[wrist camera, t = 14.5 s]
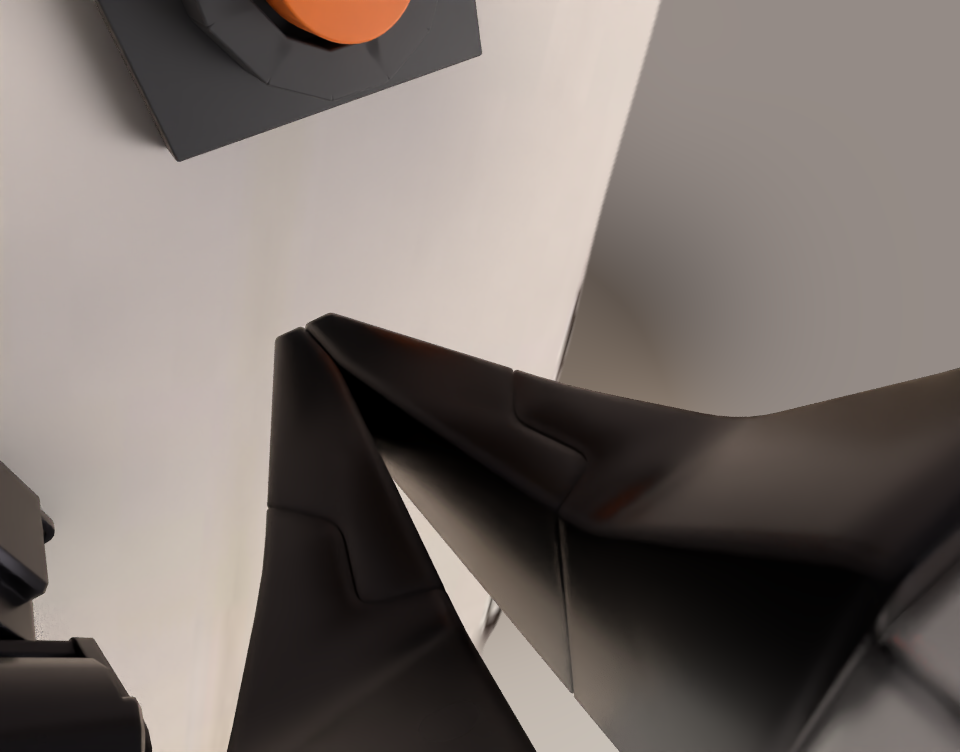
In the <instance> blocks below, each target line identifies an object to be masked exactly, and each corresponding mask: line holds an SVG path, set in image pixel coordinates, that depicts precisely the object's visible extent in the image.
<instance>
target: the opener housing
mask: <svg viewBox="0 0 960 752" xmlns="http://www.w3.org/2000/svg"><path fill="white" fill-rule="evenodd" d="M94 1H95V3H96V5H97V7H98V9H99V11H100V13H101V15H102V17H103V19H104V21H105V23H106V25H107V27H108V29H109V31H110V33H111V36H112V38H113V40H114V42H115V44H116V46H117V48H118V50H119V52H120V54H121V56H122V58H123V60H124V62H125V64H126V66H127V68H128V70H129V72H130V74H131V76H132V78H133V80H134V82H135V84H136V86H137V88H138V90H139V92H140V94H141V96H142V98H143V100H144V102H145V104H146V106H147V108H148V110H149V112H150V114H151V116H152V118H153V120H154V122H155V124H156V126H157V128H158V130H159V132H160V134H161V136H162V138H163V140H164V142H165V144H166V146H167V149H168V150H169V151H170V153H171V154H172V156H173V157H174V158H175V160H176V161H177V162H181V161H183V160H186V159H189V158H192V157H195V156H197V155H200V154H203V153H206V152H209V151H212V150H214V149H217V148H220V147H223V146H226V145H229V144H231V143H234V142H237V141H240V140H243V139H245V138H248V137H251V136H254V135H257V134H260V133H262V132H265V131H268V130H271V129H274V128H277V127H279V126H282V125H285V124H288V123H291V122H294V121H296V120H299V119H302V118H305V117H308V116H310V115H313V114H316V113H319V112H322V111H325V110H327V109H330V108H333V107H336V106H339V105H342V104H344V103H347V102H350V101H353V100H356V99H358V98H361V97H364V96H367V95H370V94H373V93H375V92H378V91H381V90H384V89H387V88H390V87H392V86H395V85H398V84H401V83H404V82H406V81H409V80H412V79H415V78H418V77H421V76H423V75H426V74H429V73H432V72H435V71H438V70H440V69H443V68H446V67H449V66H452V65H455V64H457V63H460V62H463V61H466V60H469V59H471V58H474V57H477V56H480V55H481V54H482V50H481V42H480V34H479V26H478V18H477V10H476V2H475V0H410V2H409V4H408V6H407V8H406V10H405V11H404V13H403V14H402V16H401V17H400V18H399V20H398V21H397V22H396V23H395V24H394V25H393V26H392V27H391V28H390V29H389V30H388V31H386V32H385V33H384V34H382V35H381V36H379V37H377V38H375V39H373V40H370V41H368V42H364V43H360V44H340V43H336V42H331V41H329V40H326V39H324V38H321V37H319V36H317V35H314V34H312V33H310V32H308V31H305V30H303V29H301V28H298V27H296V26H295V25H293V24H291V23H289V22H288V21H287V20H285V19H284V18H283V17H281V16H280V15H279V14H278V13H277V12H276V11H275V10H274V9H273V8H272V7H271V6H270V5H269V4H268V2H267V1H266V0H94Z"/></svg>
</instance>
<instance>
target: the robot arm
mask: <svg viewBox="0 0 960 752" xmlns="http://www.w3.org/2000/svg"><path fill="white" fill-rule="evenodd" d="M392 478H393V479H392ZM393 480H394V481H395V482H396V483H397V484H398V486H399V487H400V488H401V489H402V490H403V492H404V493H405V494H406V495H407V496H408V498H409V499H410V500H411V501H412V502H413V504H414V505H415V506H416V507H417V508H418V510H419V511H420V512H421V513H422V514H423V516H424V517H425V518H426V519H427V520H428V522H429V523H430V524H431V525H432V526H433V528H434V529H435V530H436V531H437V532H438V534H439V535H440V536H441V537H442V538H443V540H444V541H445V542H446V543H447V544H448V546H449V547H450V548H451V549H452V550H453V552H454V553H455V554H456V555H457V556H458V558H459V559H460V560H461V561H462V563H463V564H464V565H465V566H466V567H467V569H468V570H469V571H470V572H471V573H472V575H473V576H474V577H475V578H476V579H477V581H478V582H479V583H480V584H481V585H482V587H483V588H484V589H485V590H486V591H487V593H488V594H489V595H490V596H491V597H492V599H493V600H494V601H495V602H496V603H497V605H498V606H499V607H500V608H501V609H502V611H503V612H504V613H505V614H506V615H507V616H508V618H509V619H510V620H511V621H512V623H513V624H514V625H515V626H516V627H517V629H518V630H519V631H520V632H521V633H522V635H523V636H524V637H525V638H526V639H527V641H528V642H529V643H530V644H531V645H532V647H533V648H534V649H535V650H536V651H537V653H538V654H539V655H540V656H541V657H542V659H543V660H544V661H545V662H546V663H547V665H548V666H549V667H550V668H551V669H552V671H553V672H554V673H555V674H556V676H557V677H558V678H559V679H560V680H561V682H562V683H563V684H564V685H565V686H566V688H568V690H569V691H570V692H571V693H574V697H575V699H576V700H577V701H578V702H579V703H580V704H581V706H582V707H583V708H584V709H585V711H586V712H587V713H588V714H589V715H590V717H591V718H592V719H593V720H594V721H595V723H596V724H597V725H598V726H599V727H600V729H601V730H602V731H603V732H604V733H605V734H606V736H607V737H608V738H609V739H610V741H611V742H612V743H613V744H614V745H615V747H616V748H617V749H618V750H619V752H960V368H957V369H953V370H949V371H946V372H942V373H939V374H934V375H930V376H926V377H922V378H918V379H914V380H910V381H905V382H901V383H897V384H893V385H889V386H885V387H881V388H876V389H872V390H868V391H864V392H860V393H856V394H852V395H848V396H843V397H839V398H835V399H831V400H827V401H823V402H819V403H814V404H810V405H806V406H802V407H798V408H794V409H790V410H786V411H781V412H777V413H773V414H768V415H762V416H753V417H727V416H716V415H710V414H704V413H699V412H694V411H688V410H684V409H679V408H674V407H668V406H664V405H659V404H654V403H649V402H644V401H639V400H634V399H629V398H624V397H619V396H615V395H610V394H605V393H601V392H596V391H592V390H588V389H583V388H579V387H574V386H571V385H567V384H563V383H560V382H556V381H553V380H549V379H546V378H542V377H538V376H535V375H532V374H529V373H526V372H522V371H519V370H515V371H514V372H513V370H512V368H509V367H506V366H502V365H499V364H496V363H493V362H489V361H486V360H483V359H480V358H477V357H473V356H470V355H467V354H464V353H460V352H457V351H454V350H451V349H448V348H444V347H441V346H438V345H435V344H431V343H428V342H425V341H422V340H418V339H415V338H412V337H409V336H406V335H402V334H399V333H396V332H393V331H389V330H386V329H383V328H380V327H377V326H373V325H370V324H367V323H364V322H360V321H357V320H354V319H351V318H348V317H344V316H341V315H338V314H335V313H328V314H325V315H323V316H321V317H319V318H317V319H315V320H313V321H311V322H309V323H307V324H306V326H305V328H303V327H298V328H296V329H294V330H292V331H289V332H287V333H285V334H283V335H281V336H279V337H277V338H276V340H275V353H274V374H273V395H272V417H271V438H270V459H269V481H268V502H267V506H268V508H269V509H268V510H267V516H266V537H265V548H264V559H263V570H262V577H261V583H260V589H259V595H258V601H257V607H256V612H255V618H254V623H253V628H252V633H251V638H250V643H249V648H248V653H247V658H246V663H245V667H244V672H243V677H242V682H241V687H240V692H239V697H238V702H237V707H236V712H235V717H234V722H233V727H232V732H231V736H230V740H229V745H228V749H227V752H536V750H535V748H534V747H533V745H532V743H531V742H530V740H529V738H528V736H527V735H526V733H525V731H524V730H523V728H522V726H521V725H520V723H519V721H518V719H517V718H516V716H515V715H514V713H513V711H512V709H511V708H510V706H509V704H508V702H507V701H506V699H505V697H504V696H503V694H502V692H501V690H500V689H499V687H498V685H497V684H496V682H495V680H494V679H493V677H492V675H491V674H490V672H489V670H488V668H487V667H486V665H485V663H484V661H483V660H482V658H481V656H480V655H479V653H478V651H477V650H476V648H475V646H474V644H473V643H472V641H471V639H470V637H469V636H468V634H467V632H466V630H465V628H464V626H463V624H462V622H461V620H460V618H459V616H458V614H457V612H456V610H455V608H454V606H453V604H452V602H451V600H450V598H449V596H448V594H447V593H446V591H445V588H444V586H443V584H442V581H441V579H440V577H439V575H438V573H437V571H436V569H435V567H434V565H433V563H432V561H431V559H430V556H429V554H428V552H427V550H426V548H425V546H424V544H423V542H422V540H421V538H420V536H419V534H418V531H417V529H416V527H415V525H414V523H413V521H412V519H411V517H410V515H409V513H408V511H407V508H406V506H405V504H404V502H403V500H402V498H401V496H400V494H399V492H398V490H397V488H396V486H395V483H394V481H393ZM54 532H55V530H54V523H53V521H52V519H51V518H49V517H48V516H47V515H46V514H45V513H44V512H43V511H42V510H41V509H40V500H39V497H38V496H37V495H36V494H35V493H34V492H33V491H32V490H31V489H30V488H29V487H28V486H27V485H26V484H25V483H23V482H22V481H21V480H20V479H19V478H18V477H17V476H16V475H15V474H14V473H13V472H12V471H11V470H10V469H9V468H8V467H6V466H5V465H4V464H3V463H2V462H1V461H0V752H152V745H151V741H150V736H149V731H148V728H147V726H146V724H145V722H144V719H143V715H142V709H141V706H140V705H139V703H138V701H137V700H136V698H135V697H130V696H129V695H128V693H127V692H126V690H125V688H124V687H123V685H122V683H121V682H120V680H119V679H118V677H117V675H116V674H115V672H114V671H113V669H112V667H111V666H110V664H109V662H108V661H107V659H106V658H105V656H104V654H103V653H102V651H101V650H100V648H99V646H98V645H97V643H96V642H95V640H94V639H93V638H79V637H73V638H71V639H70V640H69V641H47V640H36V639H35V626H34V614H33V602H32V600H33V599H34V598H36V597H38V596H40V595H42V594H44V593H45V591H46V588H47V585H48V574H47V564H46V555H45V546H44V544H45V543H47V542H48V541H50V540H51V539H52V538H53V536H54Z"/></svg>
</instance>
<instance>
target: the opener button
mask: <svg viewBox="0 0 960 752" xmlns="http://www.w3.org/2000/svg"><path fill="white" fill-rule="evenodd" d="M266 1H267V2H268V4H269V5H270V6H271V7H272V8H273V9H274V10H275V11H276V12H277V13H278V14H279V15H280V16H281V17H283V18H284V19H285V20H287V21H288V22H289V23H291V24H293V25H295V26H296V27H298V28H301V29H303V30H305V31H308V32H310V33H312V34H314V35H317V36H319V37H321V38H324V39H326V40H329V41H331V42H336V43H340V44H360V43H364V42H368V41H370V40H373V39H375V38H377V37H379V36H381V35H382V34H384V33H385V32H386V31H388V30H389V29H390V28H391V27H392V26H393V25H394V24H395V23H396V22H397V21H398V20H399V18H400V17H401V16H402V14H403V13H404V11H405V10H406V8H407V6H408V4H409V2H410V0H266Z"/></svg>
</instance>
